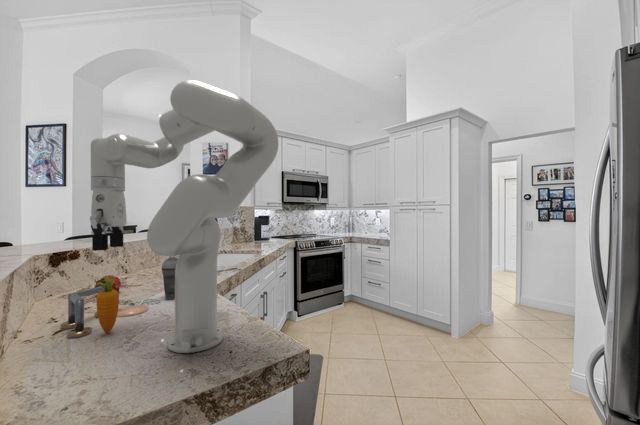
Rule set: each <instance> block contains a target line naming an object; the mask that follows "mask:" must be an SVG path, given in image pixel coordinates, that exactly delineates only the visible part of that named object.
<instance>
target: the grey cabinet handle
mask: <svg viewBox="0 0 640 425" xmlns="http://www.w3.org/2000/svg"><path fill="white" fill-rule="evenodd" d="M102 291H105V290H104V288H103V287H102V286H100V287H96V288H94V287H92V288H87V289H84V290H80V291H75V292H72V293H71V292H70V293H67V294H68V297H67V306H68V307H67V310H68V311H67V321H65V322H62V323H60V329H61V330H69V331H67V332H66V338H67V339H77V338H78V339H79V338H83V337H86V336H88V335H90V334H92V332H93V331H92V330H93V329H92V327H90V326H85V299H84V298H82V297H86V296H90V295H93V294H94V295H95V294H98V292H102ZM93 315H94V318H97V319H99V318H98V314H97V311H95V312H94V314H93Z"/></svg>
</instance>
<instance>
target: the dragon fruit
mask: <svg viewBox="0 0 640 425" xmlns="http://www.w3.org/2000/svg"><path fill="white" fill-rule="evenodd" d="M104 277H108V279H109V280H111V279H114V281H113V285H112V288H111V290H116V291H117V292H118V293H119V292H120V287H121V286H122V282H121V279H120V278H119V277H117V276H115V275H112V274H108V275H104V276H103V277H101V278H100V279H98V280H96V281H95V284H94V287H93V288H96V287H100V285H97V283H99V282H100V283H103V284H106V282H105V279H104ZM106 285H107V284H106ZM98 293H99V292H98ZM98 293H97V294H98Z"/></svg>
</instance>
